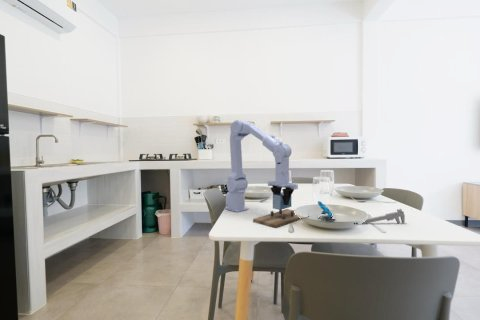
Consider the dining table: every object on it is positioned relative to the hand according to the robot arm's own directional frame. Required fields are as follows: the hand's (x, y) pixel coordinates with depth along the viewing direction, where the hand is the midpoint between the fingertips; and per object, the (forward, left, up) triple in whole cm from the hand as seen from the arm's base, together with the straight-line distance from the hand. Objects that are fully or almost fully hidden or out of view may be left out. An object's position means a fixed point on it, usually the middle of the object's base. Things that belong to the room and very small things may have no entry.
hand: (282, 204), depth 113 cm
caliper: (+32, +22, -7) cm, 39 cm away
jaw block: (0, 0, -2) cm, 2 cm away
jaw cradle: (0, 0, -6) cm, 6 cm away
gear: (+13, +14, -7) cm, 20 cm away
